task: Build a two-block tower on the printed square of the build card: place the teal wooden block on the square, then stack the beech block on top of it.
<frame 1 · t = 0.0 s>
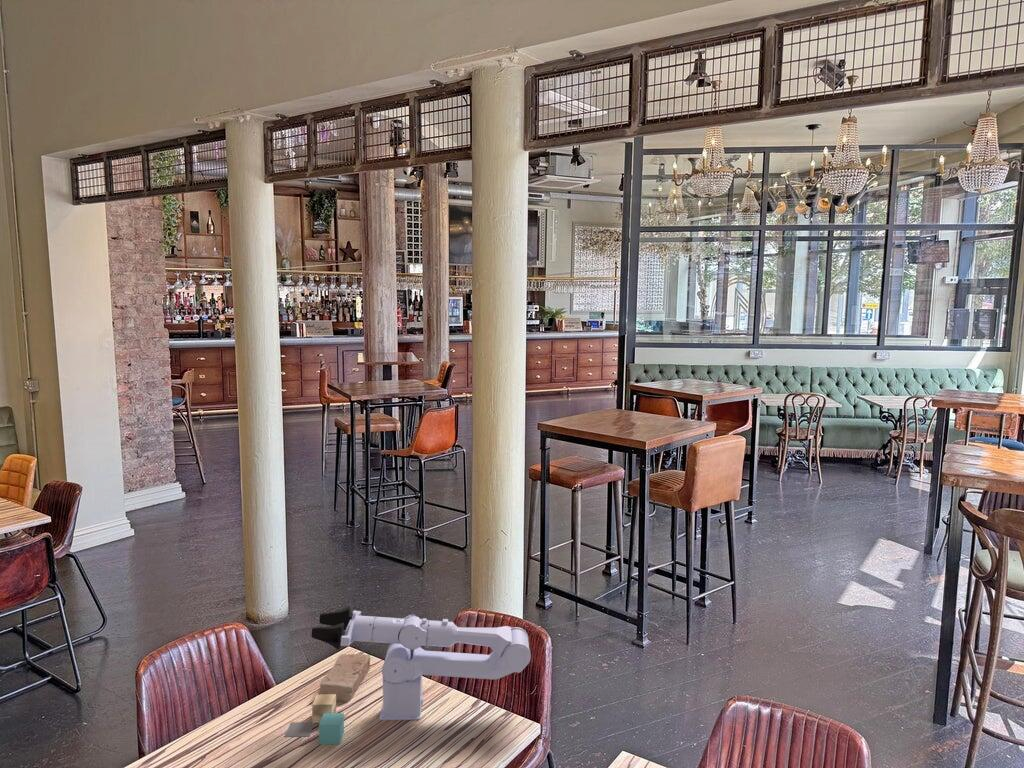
hand: (316, 625, 164), 22 cm above the table, tool horizontal, fingers open, 7 cm apart
brick: (346, 686, 179), on the table
teal block: (331, 738, 155), resting on build card
beech block: (324, 717, 163), resting on build card
build card: (318, 728, 159), on the table
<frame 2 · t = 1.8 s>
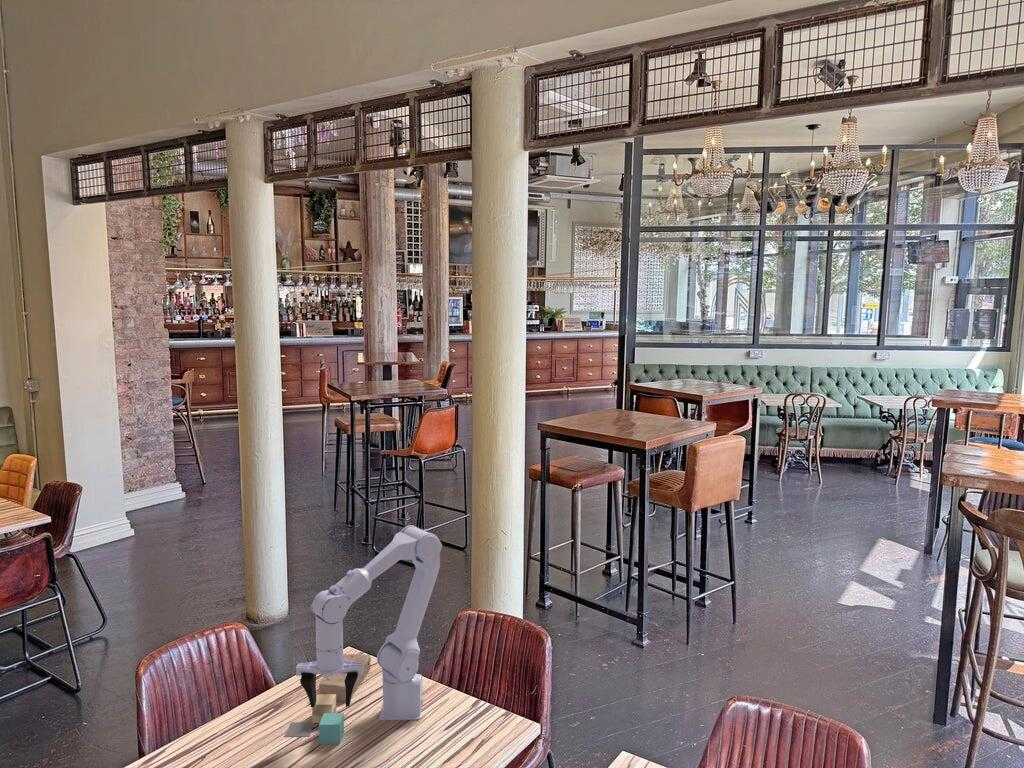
hand: (330, 704, 155), 8 cm above the table, tool pointing down, fingers open, 7 cm apart
nothing on the table moved.
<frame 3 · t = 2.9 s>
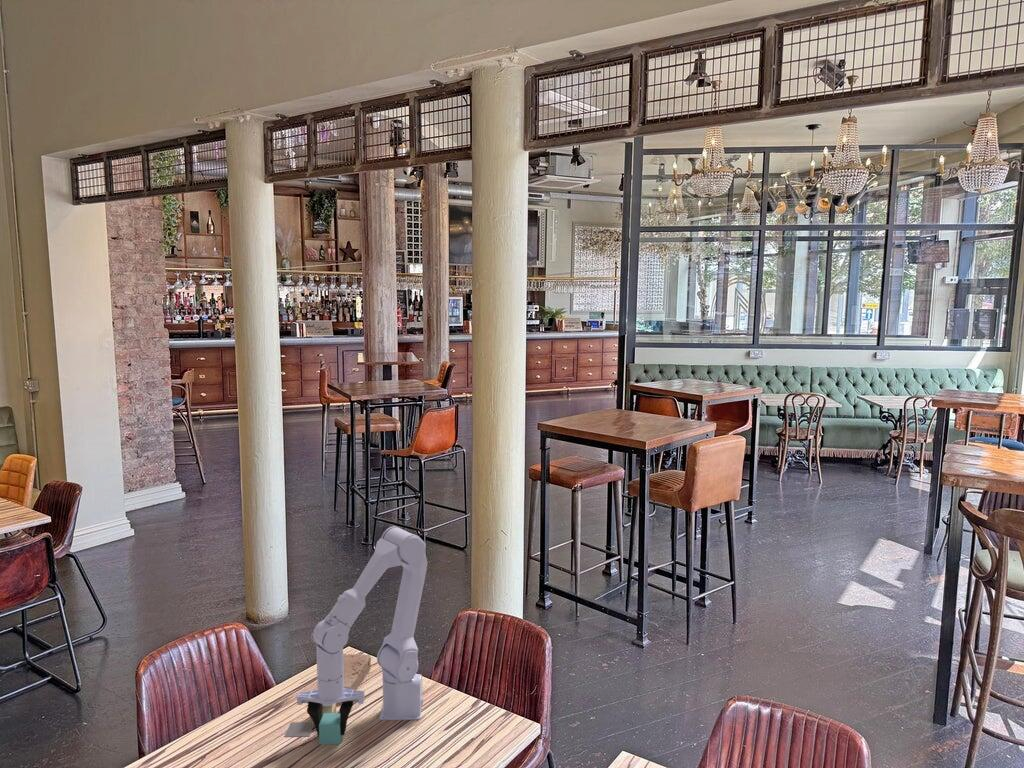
hand: (331, 732, 155), 1 cm above the table, tool pointing down, fingers closed on teal block, 4 cm apart
teal block: (331, 738, 155), resting on build card, touching gripper
everything else where it was.
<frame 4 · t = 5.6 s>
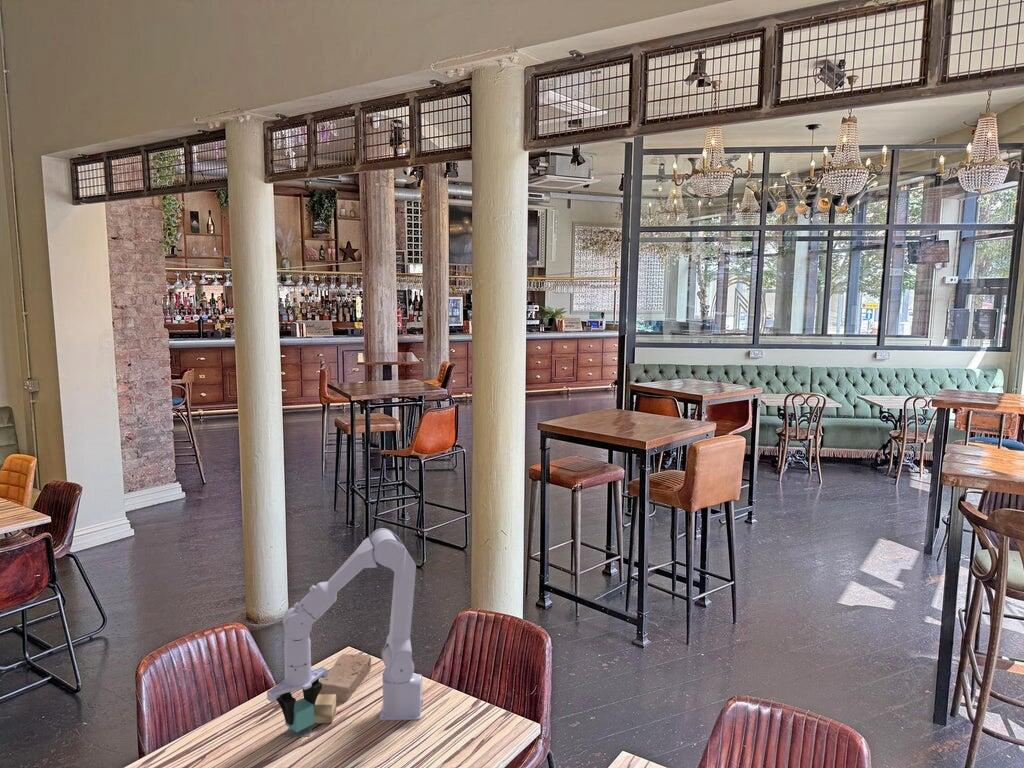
hand: (299, 718, 158), 3 cm above the table, tool pointing down, fingers closed on teal block, 4 cm apart
teal block: (299, 724, 158), point 2 cm above the table, touching gripper
beech block: (324, 717, 163), resting on build card, touching gripper
everything else where it was.
when the fingers open (3 cm above the table, at t = 6.2 s): teal block drops 1 cm, resting on build card.
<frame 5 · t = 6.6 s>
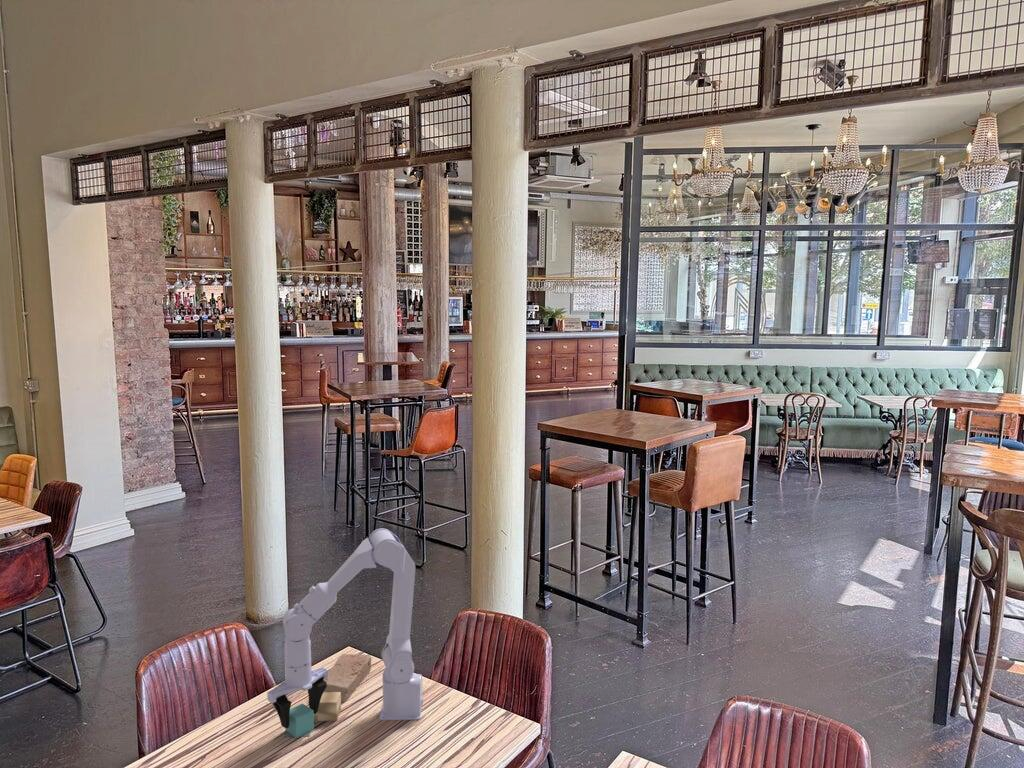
hand: (299, 719, 158), 3 cm above the table, tool pointing down, fingers open, 7 cm apart
teal block: (299, 729, 158), resting on build card
beech block: (329, 715, 164), resting on build card, touching gripper
everything else where it was.
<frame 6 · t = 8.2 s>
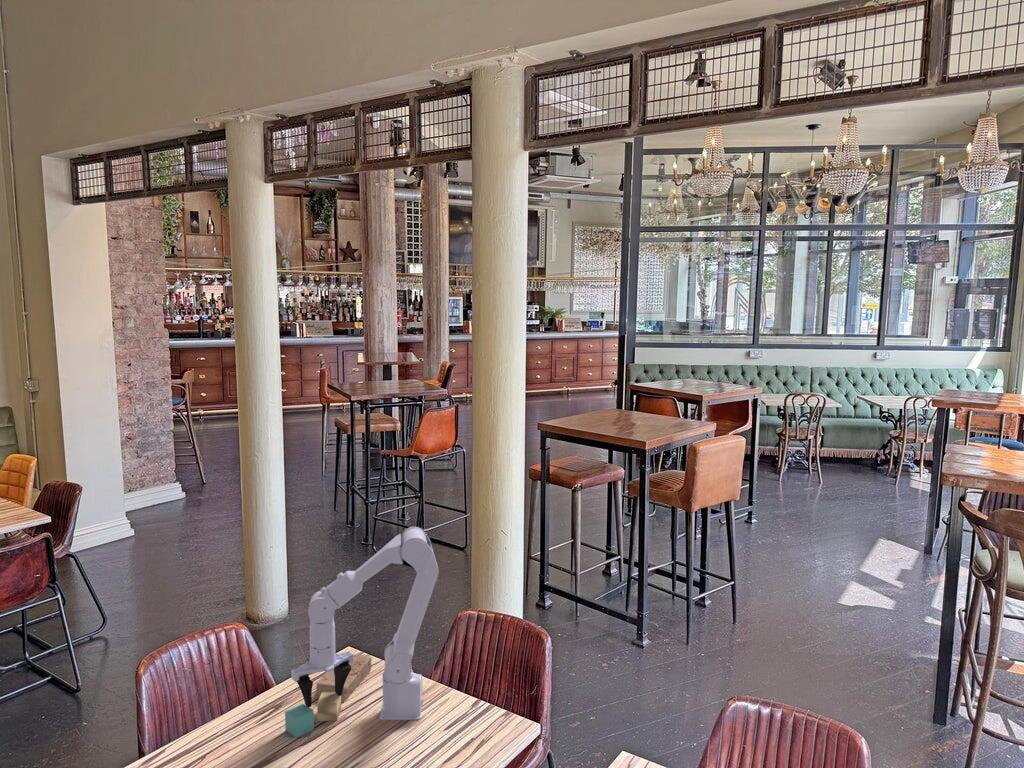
hand: (323, 699, 163), 5 cm above the table, tool pointing down, fingers open, 7 cm apart
teal block: (299, 729, 158), resting on build card, touching gripper
beech block: (329, 715, 164), resting on build card
everything else where it was.
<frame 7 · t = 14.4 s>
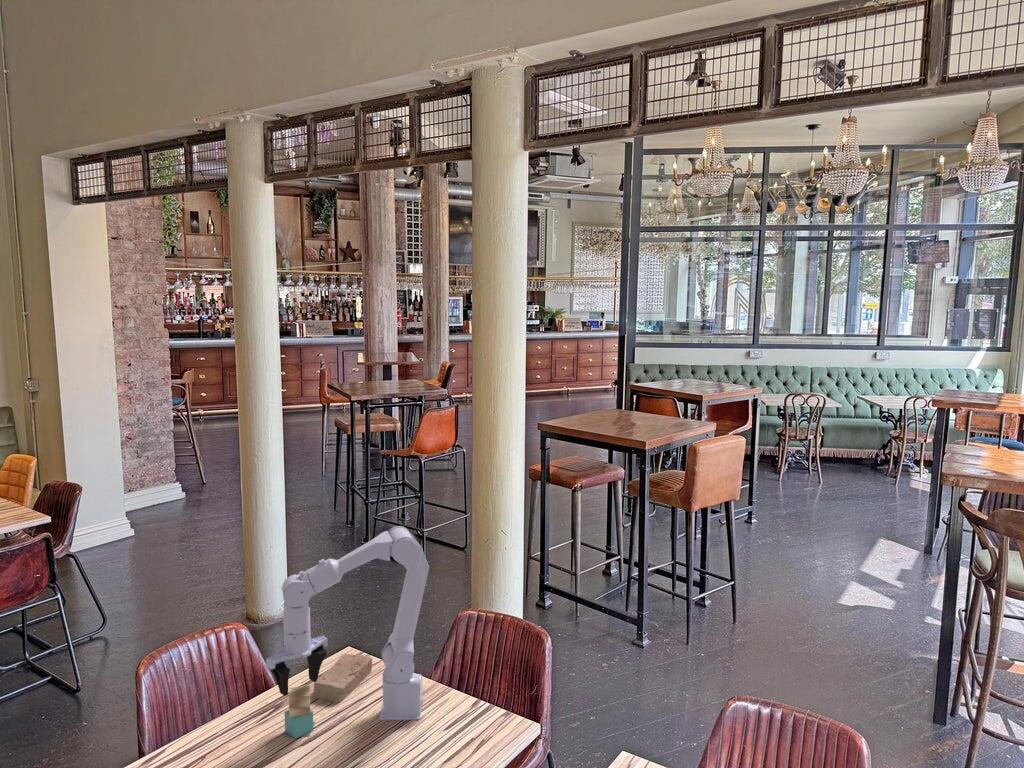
hand: (298, 686, 158), 10 cm above the table, tool pointing down, fingers open, 7 cm apart
teal block: (299, 730, 158), resting on build card, touching beech block
beech block: (299, 710, 158), point 5 cm above the table, touching teal block
everything else where it was.
at the end: beech block 0.5 cm off-centre on the teal block, point 4.5 cm above the teal block's base; teal block 0.5 cm from the target spot, resting on build card; beech block tilted 0° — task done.
